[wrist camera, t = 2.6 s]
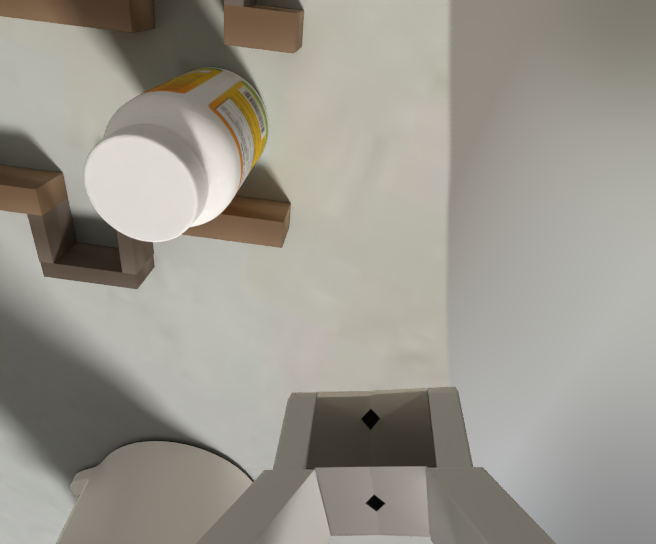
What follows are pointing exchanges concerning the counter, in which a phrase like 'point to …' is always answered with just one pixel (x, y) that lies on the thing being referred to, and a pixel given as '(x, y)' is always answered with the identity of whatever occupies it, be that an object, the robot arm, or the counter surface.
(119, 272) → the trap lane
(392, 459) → the robot arm
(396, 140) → the counter surface
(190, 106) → the supplement bottle
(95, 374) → the counter surface
